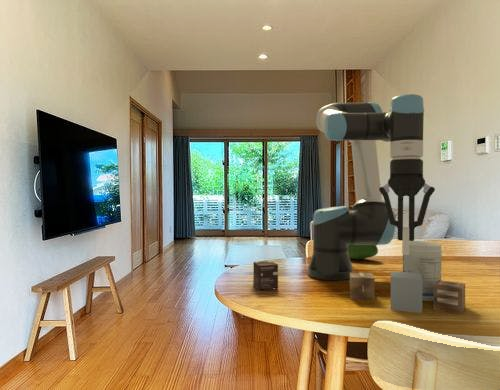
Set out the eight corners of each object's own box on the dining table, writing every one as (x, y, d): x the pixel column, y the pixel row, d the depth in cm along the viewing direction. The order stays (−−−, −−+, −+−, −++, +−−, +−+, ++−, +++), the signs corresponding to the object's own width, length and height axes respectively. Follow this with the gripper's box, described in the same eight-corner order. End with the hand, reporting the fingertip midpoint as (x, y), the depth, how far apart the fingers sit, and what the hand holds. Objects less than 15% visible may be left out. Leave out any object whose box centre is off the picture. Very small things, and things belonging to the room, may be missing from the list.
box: (258, 290, 106) (258, 265, 106) (253, 285, 112) (252, 261, 112) (278, 289, 108) (278, 264, 108) (271, 284, 114) (271, 260, 114)
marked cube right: (433, 309, 90) (433, 284, 90) (438, 303, 95) (438, 279, 95) (461, 314, 86) (461, 288, 86) (465, 307, 91) (465, 282, 91)
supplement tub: (396, 292, 104) (396, 240, 104) (427, 291, 105) (427, 240, 105) (414, 302, 95) (414, 246, 94) (449, 301, 96) (449, 245, 95)
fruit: (382, 260, 152) (382, 236, 152) (371, 263, 145) (371, 238, 144) (348, 255, 162) (348, 233, 162) (337, 258, 155) (337, 235, 155)
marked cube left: (351, 302, 95) (351, 278, 95) (349, 293, 104) (349, 271, 103) (375, 303, 94) (375, 279, 94) (371, 294, 102) (371, 272, 102)
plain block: (390, 309, 89) (390, 277, 89) (391, 301, 96) (391, 271, 96) (422, 313, 87) (422, 279, 87) (420, 304, 93) (420, 273, 93)
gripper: (377, 158, 90) (377, 254, 90) (437, 157, 85) (436, 258, 86) (379, 160, 97) (378, 249, 97) (434, 159, 92) (433, 252, 92)
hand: (405, 253), depth 91 cm, fingers closed
